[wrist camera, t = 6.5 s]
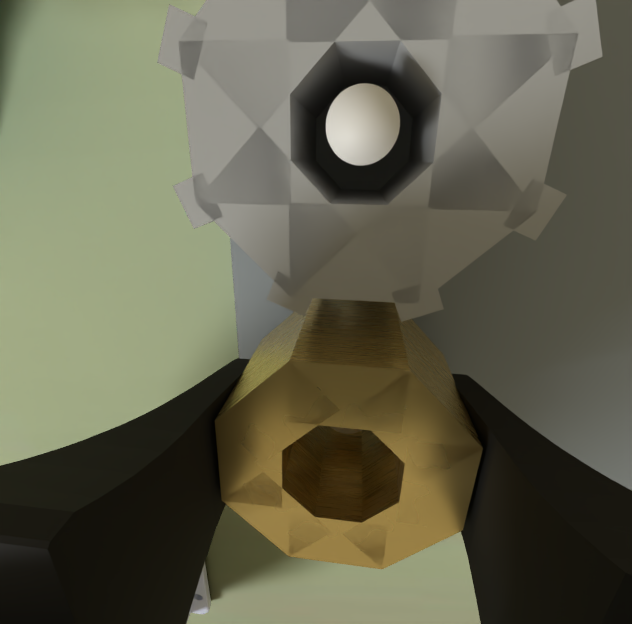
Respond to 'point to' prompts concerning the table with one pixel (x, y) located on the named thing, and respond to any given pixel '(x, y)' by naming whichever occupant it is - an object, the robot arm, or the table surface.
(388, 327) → the brass gear
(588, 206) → the gear board
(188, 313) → the table surface
